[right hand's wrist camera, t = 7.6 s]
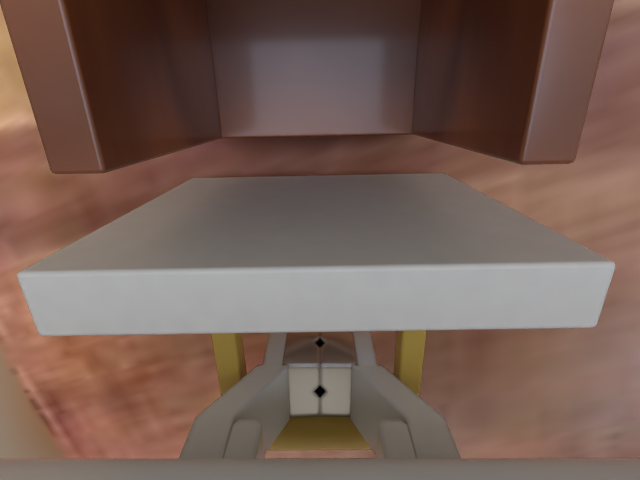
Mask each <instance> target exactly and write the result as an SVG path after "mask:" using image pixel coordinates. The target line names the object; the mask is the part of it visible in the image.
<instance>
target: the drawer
mask: <svg viewBox="0 0 640 480" xmlns="http://www.w3.org/2000/svg"><path fill="white" fill-rule="evenodd" d="M613 2H614V0H0V4H1V8H2V11H3V14H4V18H5V21H6V24H7V27H8V31H9V34H10V37H11V41H12V44H13V47H14V51H15V54H16V57H17V60H18V64H19V67H20V70H21V74H22V77H23V80H24V84H25V87H26V90H27V93H28V97H29V100H30V103H31V107H32V110H33V113H34V117H35V120H36V123H37V126H38V130H39V133H40V136H41V140H42V143H43V146H44V150H45V153H46V156H47V159H48V163H49V166H50V169H51V171H52V173H55V174H86V173H106V172H109V171H112V170H116V169H119V168H123V167H126V166H129V165H133V164H136V163H139V162H143V161H146V160H149V159H153V158H156V157H160V156H163V155H166V154H170V153H173V152H176V151H180V150H183V149H186V148H190V147H193V146H196V145H200V144H203V143H207V142H210V141H213V140H217V139H220V138H257V137H304V136H352V135H399V134H414V135H418V136H421V137H425V138H428V139H432V140H435V141H439V142H443V143H446V144H450V145H453V146H457V147H460V148H464V149H468V150H471V151H475V152H478V153H482V154H485V155H489V156H493V157H496V158H500V159H503V160H507V161H510V162H514V163H518V164H521V165H531V164H569V163H572V162H574V160H575V158H576V153H577V149H578V145H579V141H580V137H581V133H582V129H583V125H584V121H585V117H586V113H587V109H588V104H589V100H590V96H591V92H592V88H593V84H594V80H595V76H596V72H597V68H598V64H599V60H600V55H601V51H602V47H603V43H604V39H605V35H606V31H607V27H608V23H609V19H610V15H611V11H612V7H613ZM614 270H615V263H614V262H613V261H611V260H609V259H607V258H605V257H603V256H601V255H600V254H598V253H596V252H594V251H592V250H590V249H588V248H586V247H584V246H582V245H581V244H579V243H577V242H575V241H573V240H571V239H569V238H567V237H565V236H563V235H561V234H560V233H558V232H556V231H554V230H552V229H550V228H548V227H546V226H544V225H542V224H540V223H539V222H537V221H535V220H533V219H531V218H529V217H527V216H525V215H523V214H521V213H520V212H518V211H516V210H514V209H512V208H510V207H508V206H506V205H504V204H502V203H500V202H499V201H497V200H495V199H493V198H491V197H489V196H487V195H485V194H483V193H481V192H479V191H478V190H476V189H474V188H472V187H470V186H468V185H466V184H464V183H462V182H460V181H459V180H457V179H455V178H453V177H451V176H449V175H447V174H445V173H423V174H373V175H322V176H272V177H222V178H192V179H190V180H188V181H186V182H184V183H182V184H181V185H179V186H177V187H175V188H173V189H171V190H169V191H168V192H166V193H164V194H162V195H160V196H158V197H157V198H155V199H153V200H151V201H149V202H147V203H145V204H144V205H142V206H140V207H138V208H136V209H134V210H133V211H131V212H129V213H127V214H125V215H123V216H121V217H120V218H118V219H116V220H114V221H112V222H110V223H109V224H107V225H105V226H103V227H101V228H99V229H97V230H96V231H94V232H92V233H90V234H88V235H86V236H84V237H83V238H81V239H79V240H77V241H75V242H73V243H72V244H70V245H68V246H66V247H64V248H62V249H60V250H59V251H57V252H55V253H53V254H51V255H49V256H48V257H46V258H44V259H42V260H40V261H38V262H36V263H35V264H33V265H31V266H29V267H27V268H25V269H24V270H22V271H20V272H19V273H18V274H17V278H18V281H19V283H20V286H21V288H22V291H23V294H24V296H25V299H26V302H27V304H28V307H29V309H30V312H31V315H32V317H33V320H34V322H35V325H36V328H37V330H38V333H39V334H40V335H42V336H84V335H150V334H211V336H212V342H213V348H214V354H215V360H216V367H217V373H218V379H219V385H220V391H221V396H222V395H223V394H224V393H225V392H227V391H228V390H229V389H230V388H231V387H232V386H234V385H235V384H236V383H237V382H238V381H240V380H241V379H242V378H243V377H244V376H246V375H247V373H246V365H245V357H244V349H243V341H242V333H282V332H348V331H397V335H396V349H395V363H394V376H396V377H397V378H398V379H399V380H400V381H401V382H403V383H404V384H405V385H406V386H407V387H409V388H410V389H411V390H412V391H413V392H414V393H416V394H417V395H418V396H419V394H420V385H421V376H422V367H423V358H424V349H425V339H426V330H480V329H545V328H593V327H595V326H596V325H597V322H598V319H599V316H600V313H601V310H602V307H603V304H604V301H605V297H606V294H607V291H608V288H609V285H610V282H611V279H612V276H613V273H614ZM356 449H371V448H370V446H369V445H368V443H367V442H366V441H365V439H364V438H363V436H362V435H361V434H360V432H359V431H358V429H357V428H356V427H355V425H354V424H353V422H352V421H351V420H350V417H290V420H289V421H288V423H287V424H286V425H285V427H284V428H283V430H282V431H281V432H280V434H279V435H278V437H277V438H276V439H275V441H274V442H273V444H272V445H271V446H270V448H269V449H268V450H267V451H271V450H356Z"/></svg>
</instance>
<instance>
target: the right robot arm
mask: <svg viewBox="0 0 640 480" xmlns="http://www.w3.org/2000/svg"><path fill="white" fill-rule="evenodd" d="M290 417H350V420H351V421H352V422H353V424H354V425H355V427H356V428H357V429H358V431H359V432H360V434H361V435H362V436H363V438H364V439H365V441H366V442H367V443H368V445H369V446H370V448H371V449H372V450H373V452H374V453H375V455H376V458H349V459H264V455H265V453H266V452H267V450H268V449H269V448H270V446H271V445H272V444H273V442H274V441H275V439H276V438H277V437H278V435H279V434H280V432H281V431H282V430H283V428H284V427H285V425H286V424H287V423H288V421H289V420H290ZM0 480H640V458H533V459H461V457H460V455H459V452H458V450H457V447H456V445H455V442H454V440H453V437H452V435H451V432H450V430H449V427H448V425H447V422H446V420H445V418H444V417H443V416H442V415H440V414H439V413H438V412H437V411H436V410H435V409H433V408H432V407H431V406H430V405H429V404H427V403H426V402H425V401H424V400H423V399H422V398H420V397H419V396H418V395H417V394H416V393H414V392H413V391H412V390H411V389H410V388H409V387H407V386H406V385H405V384H404V383H403V382H401V381H400V380H399V379H398V378H397V377H396V376H394V375H393V374H392V373H391V372H390V371H388V370H387V369H386V368H385V367H384V366H382V365H377V361H376V356H375V352H374V347H373V343H372V339H371V334H370V331H348V332H282V333H270V334H269V338H268V343H267V347H266V351H265V356H264V360H263V365H258V366H256V367H255V368H254V369H253V370H251V371H250V372H249V373H248V374H247V375H246V376H244V377H243V378H242V379H241V380H240V381H238V382H237V383H236V384H235V385H234V386H232V387H231V388H230V389H229V390H228V391H227V392H225V393H224V394H223V395H222V396H221V397H219V398H218V399H217V400H216V401H215V402H213V403H212V404H211V405H210V406H209V407H208V408H206V409H205V410H204V411H203V412H202V413H200V414H199V415H198V416H197V417H196V418H195V420H194V423H193V425H192V427H191V430H190V432H189V435H188V437H187V440H186V442H185V445H184V447H183V450H182V452H181V454H180V457H179V459H0Z"/></svg>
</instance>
